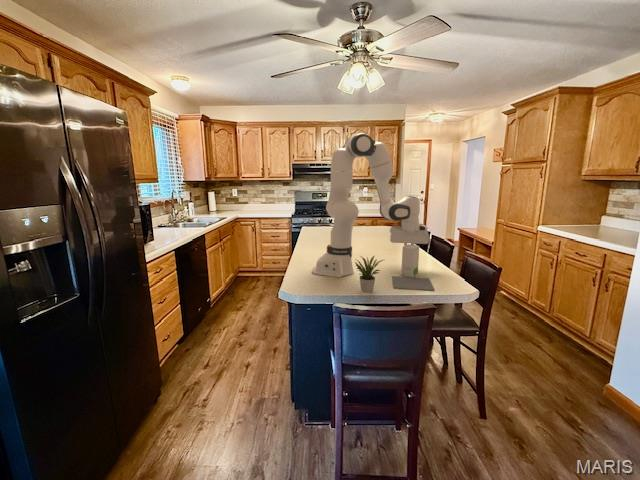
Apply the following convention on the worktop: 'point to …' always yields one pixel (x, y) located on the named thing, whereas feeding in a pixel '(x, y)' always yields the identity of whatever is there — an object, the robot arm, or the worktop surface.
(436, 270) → the worktop surface
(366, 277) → the house plant
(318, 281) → the worktop surface
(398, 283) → the mat
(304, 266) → the worktop surface
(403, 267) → the skincare box
